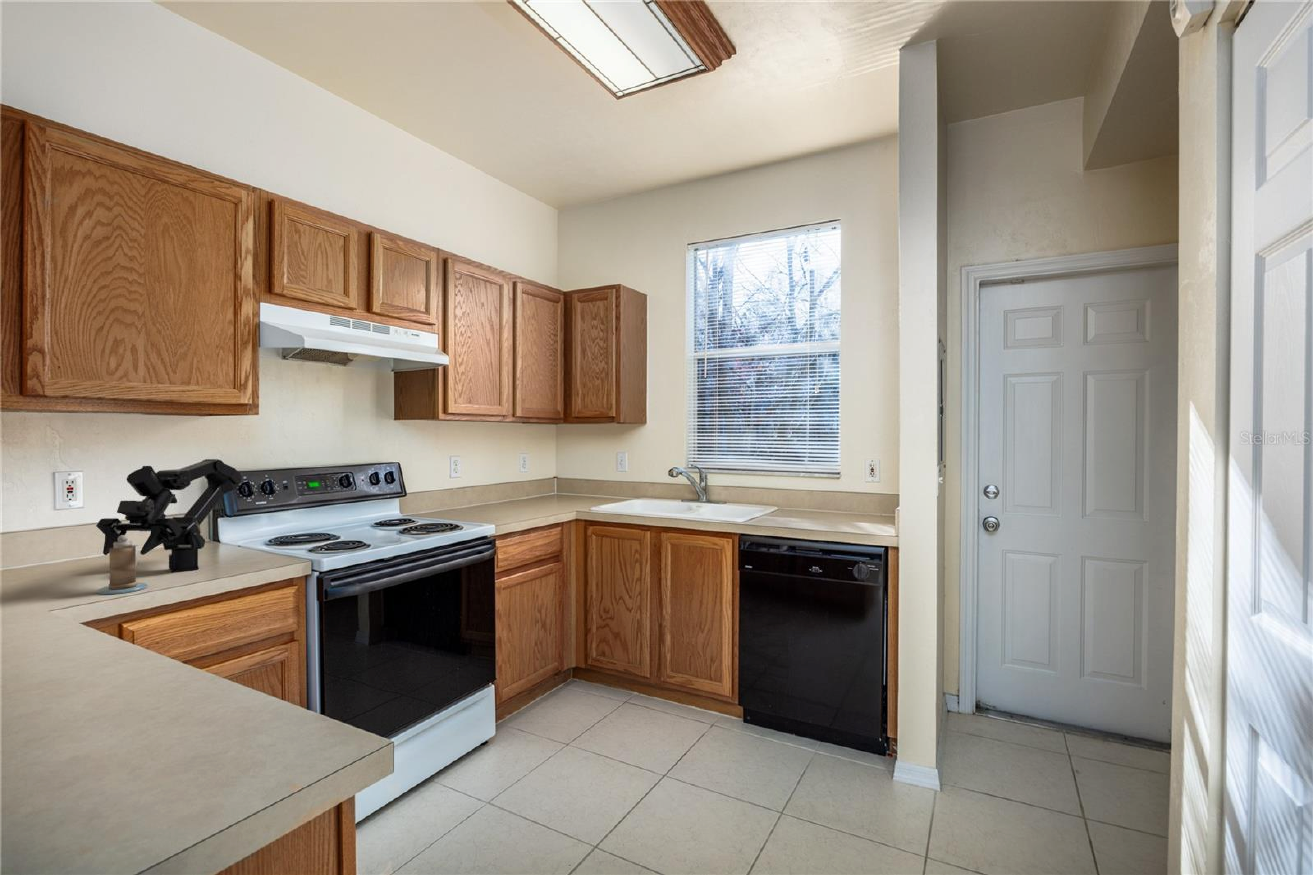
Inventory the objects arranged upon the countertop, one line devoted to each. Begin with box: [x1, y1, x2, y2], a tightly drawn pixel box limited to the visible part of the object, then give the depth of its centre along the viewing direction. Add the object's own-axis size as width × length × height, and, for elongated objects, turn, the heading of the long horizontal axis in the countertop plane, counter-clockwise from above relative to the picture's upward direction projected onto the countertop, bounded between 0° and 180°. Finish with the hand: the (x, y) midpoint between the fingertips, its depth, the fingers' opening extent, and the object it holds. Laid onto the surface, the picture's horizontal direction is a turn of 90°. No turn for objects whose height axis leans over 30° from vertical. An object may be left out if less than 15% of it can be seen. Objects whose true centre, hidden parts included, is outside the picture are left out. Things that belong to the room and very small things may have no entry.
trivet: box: [96, 582, 148, 596], centre depth 163 cm, size 10×10×1 cm
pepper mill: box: [108, 534, 138, 590], centre depth 163 cm, size 6×6×14 cm
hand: (123, 554), depth 163 cm, fingers open, 9 cm apart
